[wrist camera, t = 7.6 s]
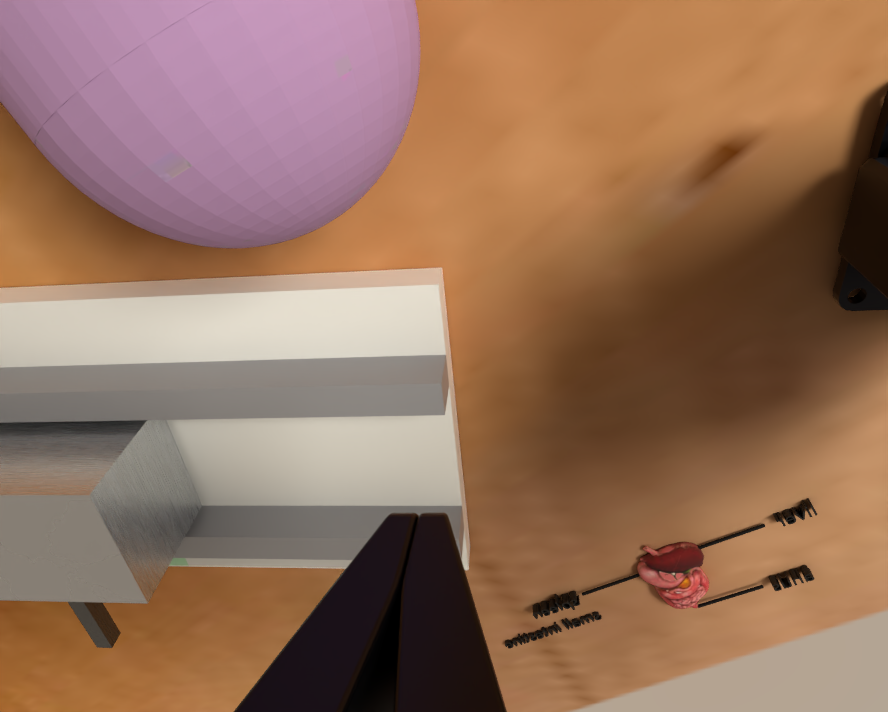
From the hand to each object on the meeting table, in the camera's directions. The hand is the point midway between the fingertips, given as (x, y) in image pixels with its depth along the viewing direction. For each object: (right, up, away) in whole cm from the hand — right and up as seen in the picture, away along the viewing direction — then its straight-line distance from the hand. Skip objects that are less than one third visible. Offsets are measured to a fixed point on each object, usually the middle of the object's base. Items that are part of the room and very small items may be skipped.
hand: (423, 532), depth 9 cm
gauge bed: (-12, 0, +16) cm, 20 cm away
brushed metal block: (-12, -3, +15) cm, 20 cm away
